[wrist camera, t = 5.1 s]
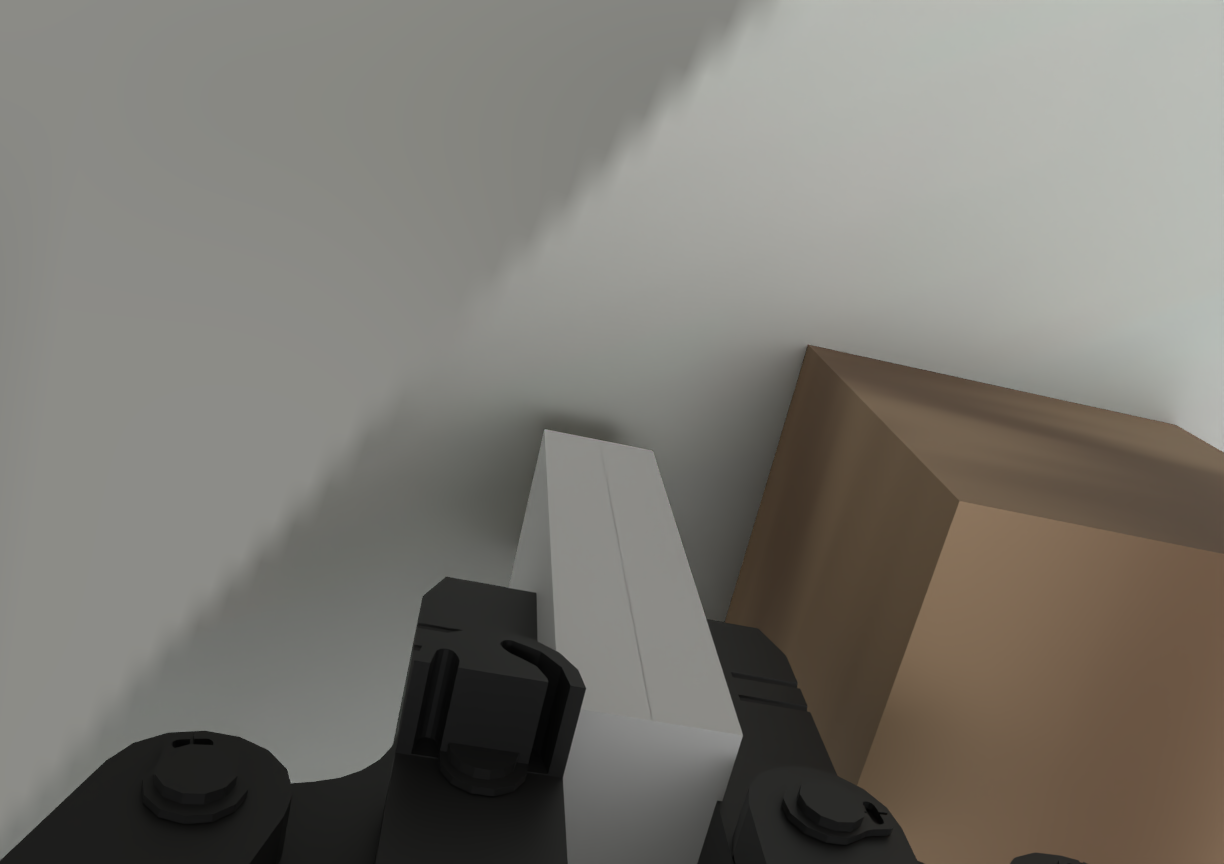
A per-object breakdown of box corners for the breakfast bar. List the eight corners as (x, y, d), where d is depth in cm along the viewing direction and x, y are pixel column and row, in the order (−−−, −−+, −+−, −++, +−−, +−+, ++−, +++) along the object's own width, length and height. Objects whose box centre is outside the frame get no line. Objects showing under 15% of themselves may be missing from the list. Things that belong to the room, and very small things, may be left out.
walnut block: (701, 692, 18) (785, 985, 12) (806, 342, 16) (959, 501, 11) (1038, 748, 19) (1257, 1046, 13) (1172, 423, 17) (1493, 608, 11)
